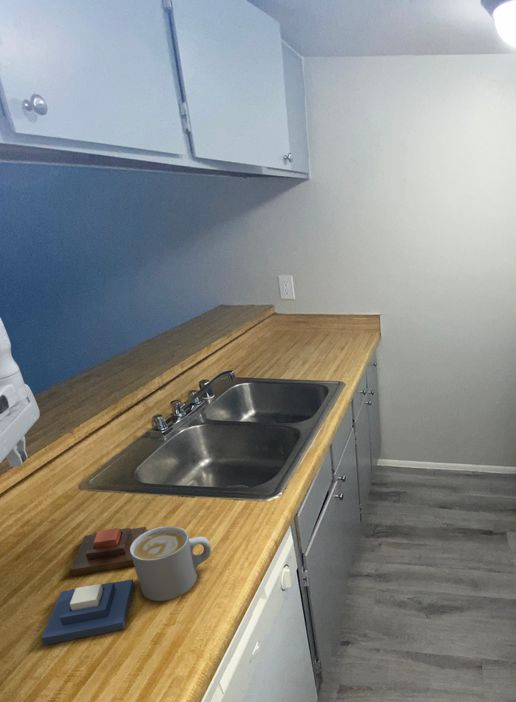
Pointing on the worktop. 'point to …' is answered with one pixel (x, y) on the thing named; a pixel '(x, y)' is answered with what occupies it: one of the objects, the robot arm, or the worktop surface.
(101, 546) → the red square button
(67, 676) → the worktop surface
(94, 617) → the blue stepped button base
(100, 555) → the brown stepped button base
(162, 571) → the coffee mug
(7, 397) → the robot arm
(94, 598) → the white square button cap
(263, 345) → the worktop surface
